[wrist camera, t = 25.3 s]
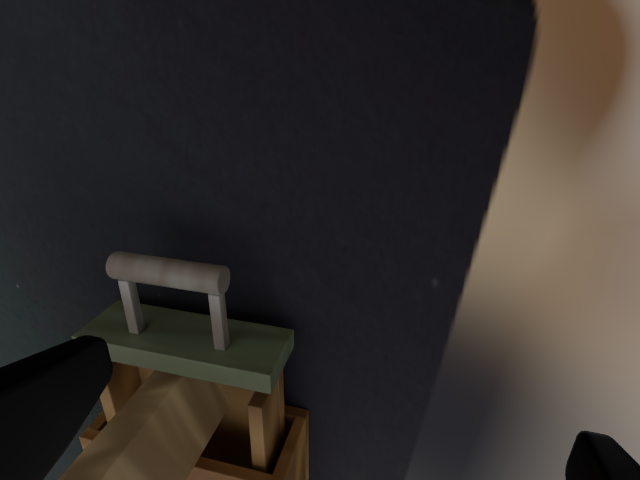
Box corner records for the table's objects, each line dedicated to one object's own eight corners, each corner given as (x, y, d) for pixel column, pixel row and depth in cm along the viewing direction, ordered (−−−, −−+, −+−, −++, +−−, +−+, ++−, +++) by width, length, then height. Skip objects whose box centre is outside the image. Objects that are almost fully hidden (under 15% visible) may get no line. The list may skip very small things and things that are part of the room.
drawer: (101, 228, 23) (47, 257, 20) (292, 252, 21) (265, 289, 18) (152, 452, 31) (119, 500, 28) (297, 490, 29) (278, 547, 25)
